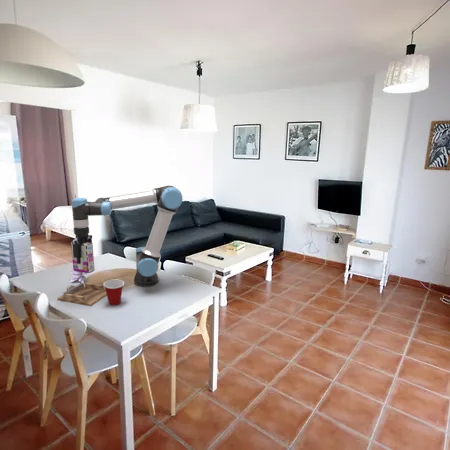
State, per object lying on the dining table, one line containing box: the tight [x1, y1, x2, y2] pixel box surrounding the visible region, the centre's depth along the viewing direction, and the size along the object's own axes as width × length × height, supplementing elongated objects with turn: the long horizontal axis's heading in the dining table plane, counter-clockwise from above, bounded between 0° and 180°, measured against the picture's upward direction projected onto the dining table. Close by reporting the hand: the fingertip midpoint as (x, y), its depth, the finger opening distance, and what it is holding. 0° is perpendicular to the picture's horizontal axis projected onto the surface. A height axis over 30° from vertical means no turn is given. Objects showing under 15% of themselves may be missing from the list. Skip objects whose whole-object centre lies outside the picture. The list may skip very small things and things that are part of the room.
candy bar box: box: [70, 242, 95, 274], centre depth 176 cm, size 11×5×16 cm, turn 69°
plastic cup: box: [102, 278, 125, 306], centre depth 172 cm, size 11×11×12 cm
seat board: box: [56, 282, 107, 307], centre depth 181 cm, size 22×18×5 cm
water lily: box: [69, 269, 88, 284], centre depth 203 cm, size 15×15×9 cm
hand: (84, 267), depth 177 cm, fingers closed on candy bar box, 5 cm apart
